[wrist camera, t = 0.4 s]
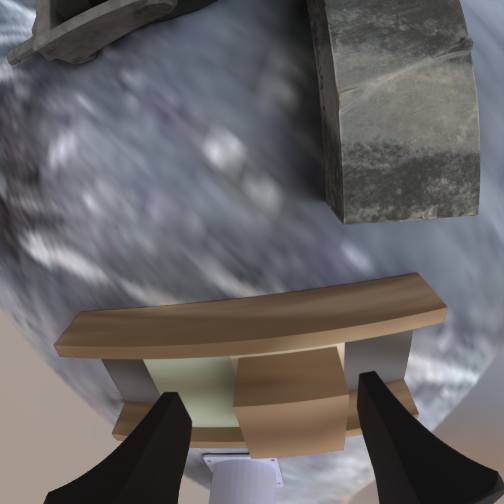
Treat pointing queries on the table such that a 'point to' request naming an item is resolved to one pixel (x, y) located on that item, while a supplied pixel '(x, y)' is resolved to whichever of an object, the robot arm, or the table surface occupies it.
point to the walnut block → (292, 403)
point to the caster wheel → (92, 25)
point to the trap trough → (251, 347)
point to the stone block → (396, 109)
